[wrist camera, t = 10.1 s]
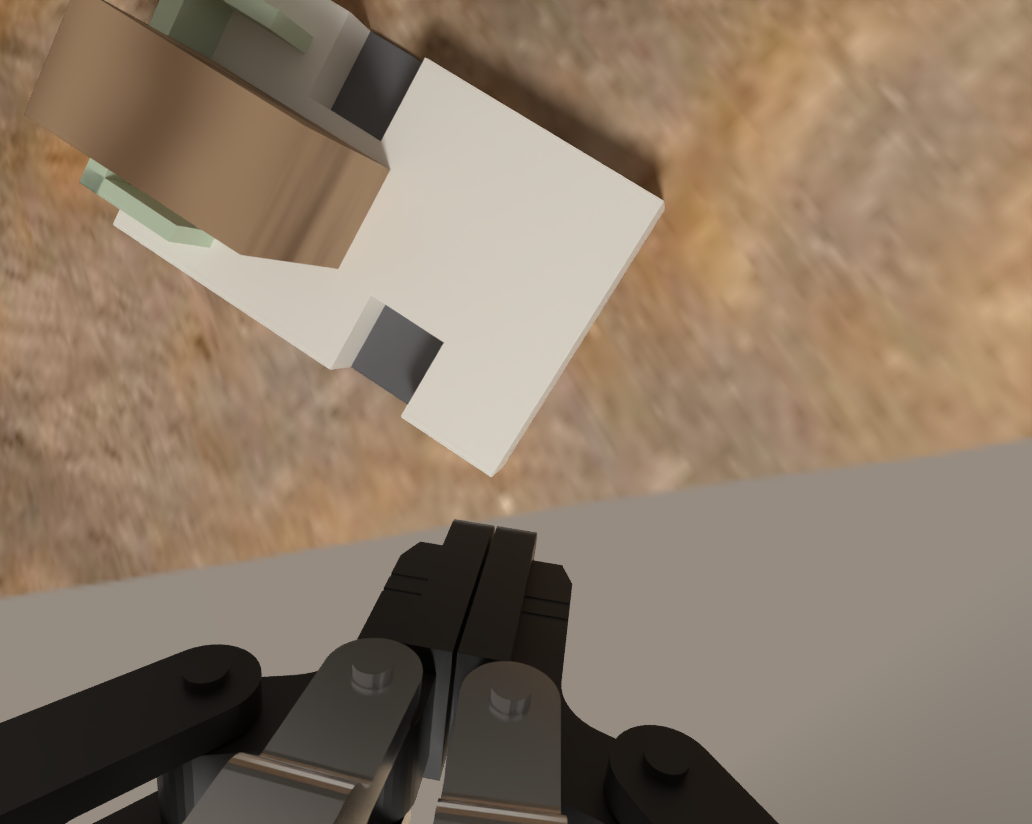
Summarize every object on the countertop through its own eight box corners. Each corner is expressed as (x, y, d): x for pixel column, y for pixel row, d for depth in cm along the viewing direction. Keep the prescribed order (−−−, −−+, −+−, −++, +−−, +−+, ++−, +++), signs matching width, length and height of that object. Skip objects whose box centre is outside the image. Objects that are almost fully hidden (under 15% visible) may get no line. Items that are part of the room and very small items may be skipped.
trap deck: (664, 209, 34) (662, 189, 29) (503, 466, 37) (474, 492, 31) (269, -30, 36) (199, -90, 31) (147, 230, 39) (64, 216, 34)
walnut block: (390, 169, 34) (304, 125, 26) (338, 268, 35) (240, 254, 27) (210, 59, 35) (76, -15, 27) (165, 158, 36) (23, 114, 28)
